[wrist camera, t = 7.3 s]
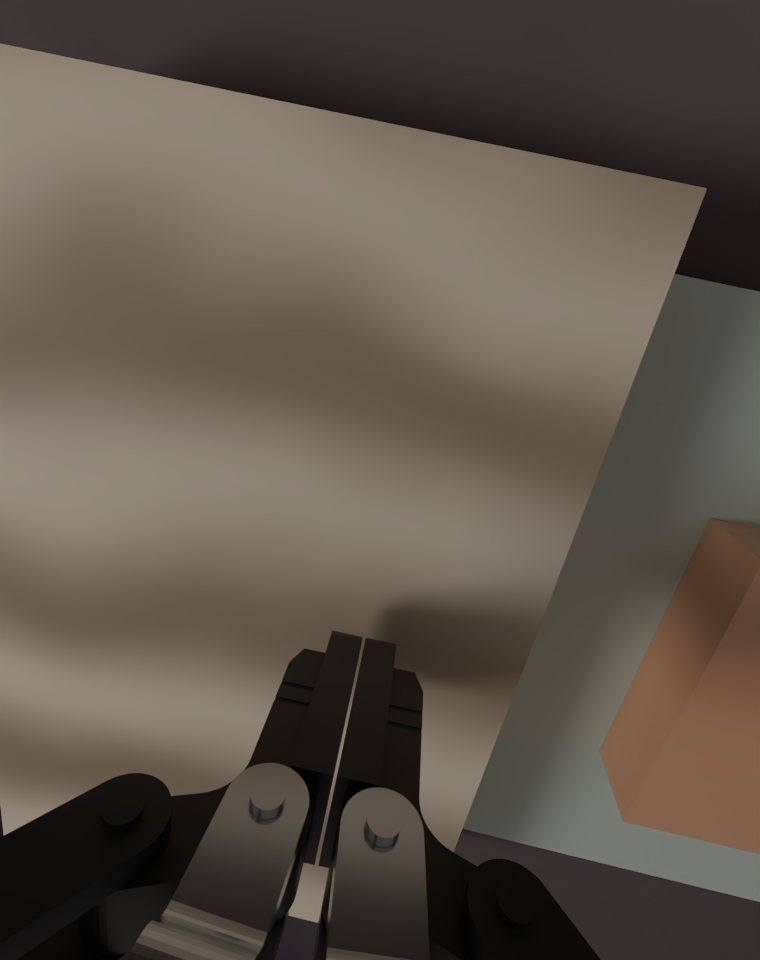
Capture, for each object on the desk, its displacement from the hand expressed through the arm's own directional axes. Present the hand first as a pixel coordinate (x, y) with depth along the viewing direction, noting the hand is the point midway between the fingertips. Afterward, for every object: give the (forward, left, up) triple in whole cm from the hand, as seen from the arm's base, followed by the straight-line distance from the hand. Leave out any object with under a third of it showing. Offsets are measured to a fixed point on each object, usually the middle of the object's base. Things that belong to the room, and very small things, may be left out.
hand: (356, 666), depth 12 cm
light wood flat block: (0, -3, -5) cm, 6 cm away
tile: (+1, +12, -3) cm, 13 cm away
